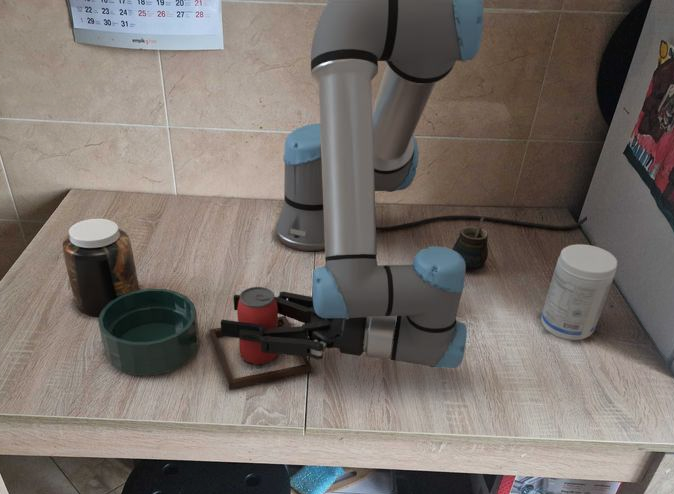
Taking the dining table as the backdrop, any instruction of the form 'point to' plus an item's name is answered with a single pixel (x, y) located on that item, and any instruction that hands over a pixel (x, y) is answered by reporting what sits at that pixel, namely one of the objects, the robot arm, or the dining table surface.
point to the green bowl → (149, 331)
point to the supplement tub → (578, 291)
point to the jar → (99, 264)
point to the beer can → (257, 320)
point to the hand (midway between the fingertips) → (228, 314)
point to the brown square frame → (261, 377)
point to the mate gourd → (473, 246)
